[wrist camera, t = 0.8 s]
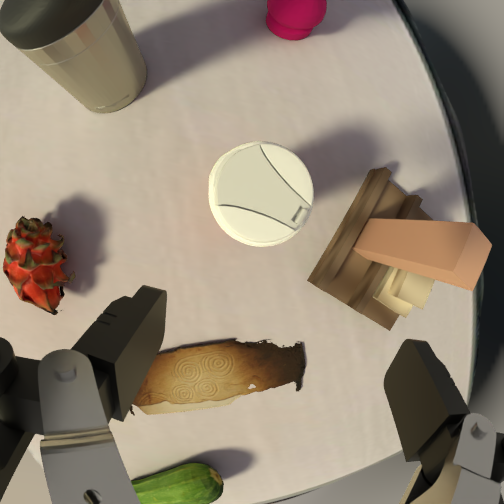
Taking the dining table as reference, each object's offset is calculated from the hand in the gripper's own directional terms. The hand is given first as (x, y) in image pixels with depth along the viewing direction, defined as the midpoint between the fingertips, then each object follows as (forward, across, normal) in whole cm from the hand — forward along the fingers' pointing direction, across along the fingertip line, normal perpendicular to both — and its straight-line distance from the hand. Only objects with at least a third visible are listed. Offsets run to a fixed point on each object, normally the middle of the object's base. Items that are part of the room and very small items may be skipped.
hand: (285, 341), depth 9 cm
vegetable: (+13, +8, +44) cm, 46 cm away
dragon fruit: (+20, +26, +12) cm, 35 cm away
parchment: (+20, +4, +23) cm, 31 cm away
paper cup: (+26, +4, +2) cm, 27 cm away
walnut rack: (+28, -14, +5) cm, 32 cm away
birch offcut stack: (+27, -18, +6) cm, 33 cm away
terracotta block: (+27, -11, +3) cm, 29 cm away
